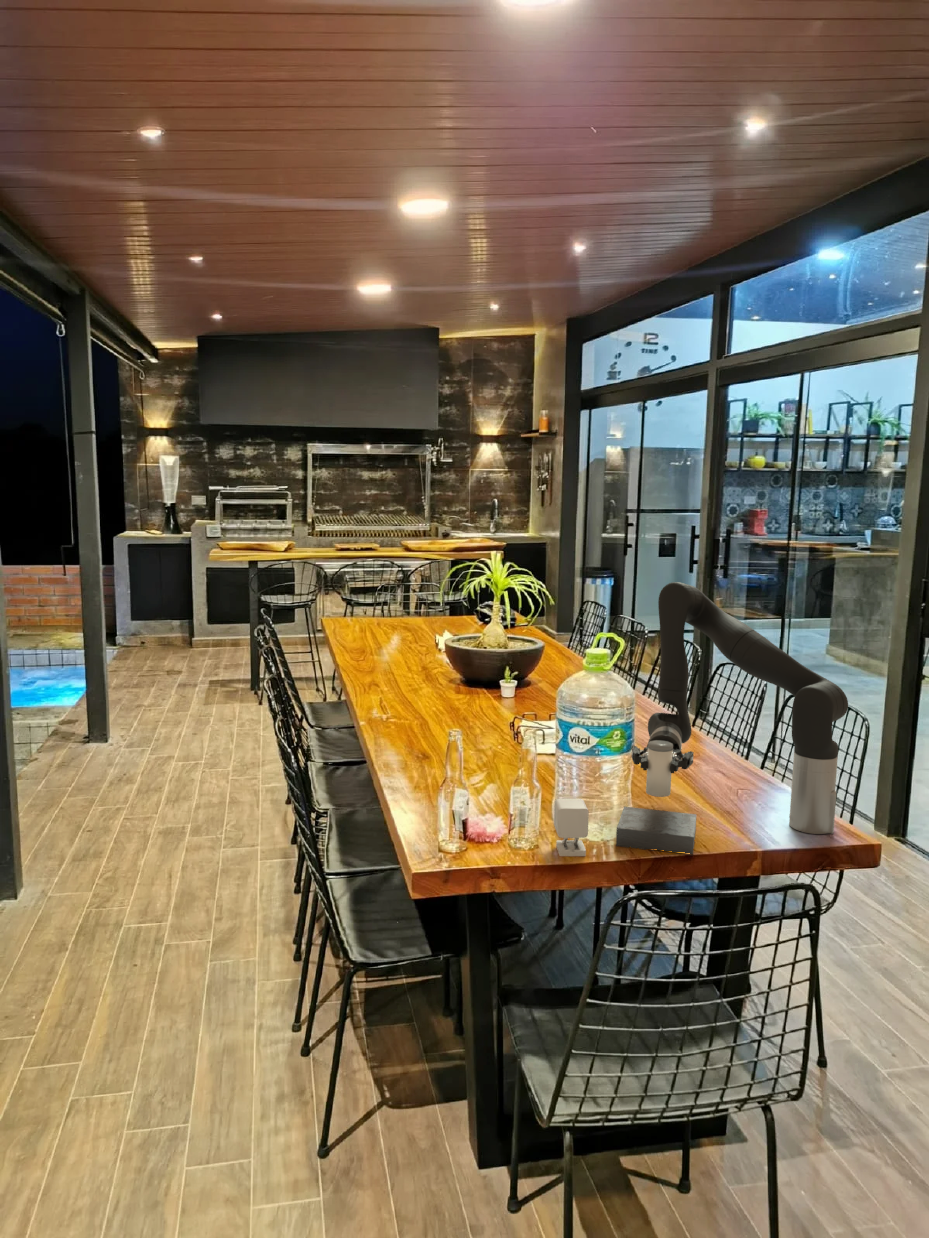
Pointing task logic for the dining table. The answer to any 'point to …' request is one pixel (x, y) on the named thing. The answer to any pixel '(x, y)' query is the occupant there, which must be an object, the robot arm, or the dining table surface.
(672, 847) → the block
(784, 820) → the dining table surface
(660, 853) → the dining table surface
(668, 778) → the canister
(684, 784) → the dining table surface
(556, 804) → the security camera
